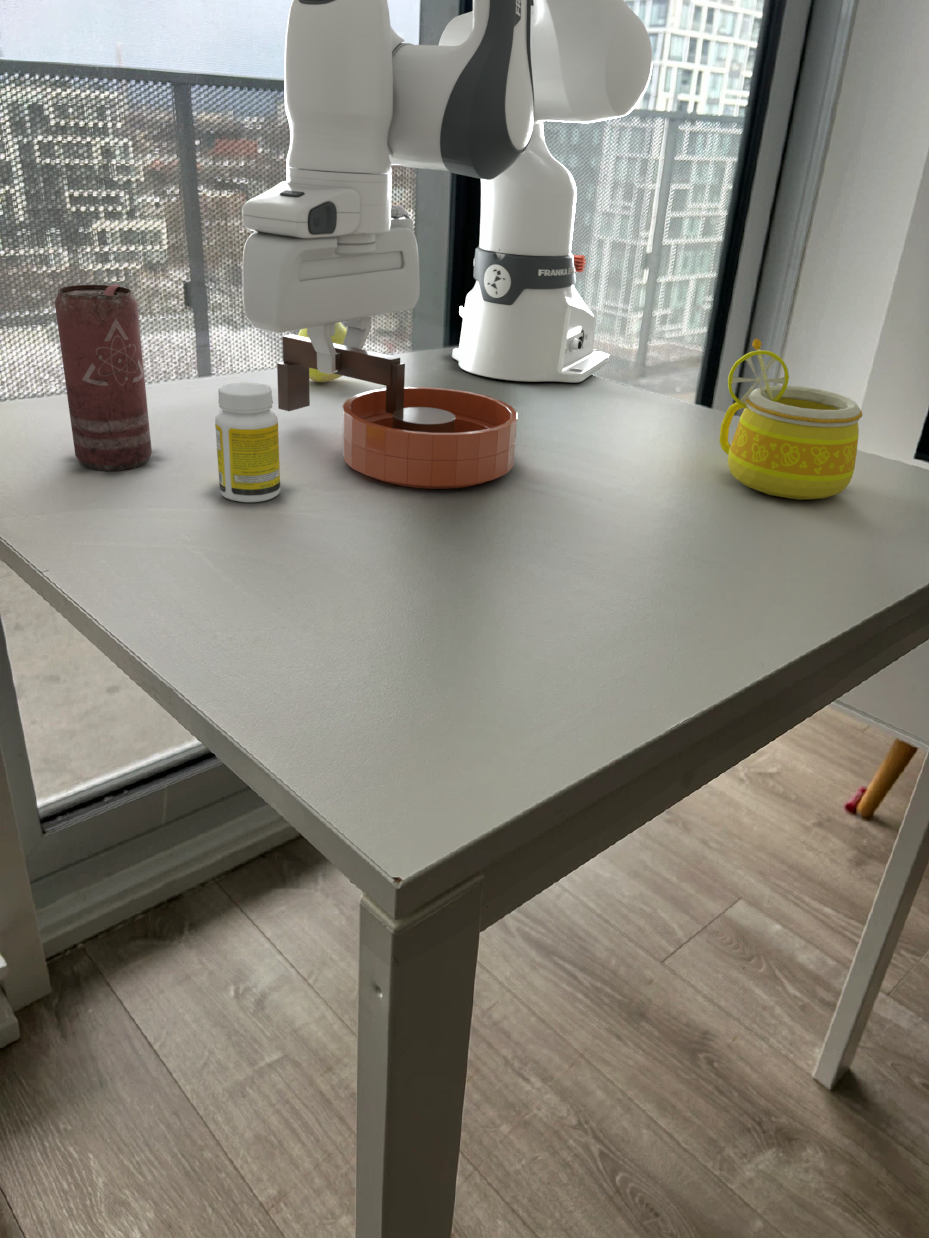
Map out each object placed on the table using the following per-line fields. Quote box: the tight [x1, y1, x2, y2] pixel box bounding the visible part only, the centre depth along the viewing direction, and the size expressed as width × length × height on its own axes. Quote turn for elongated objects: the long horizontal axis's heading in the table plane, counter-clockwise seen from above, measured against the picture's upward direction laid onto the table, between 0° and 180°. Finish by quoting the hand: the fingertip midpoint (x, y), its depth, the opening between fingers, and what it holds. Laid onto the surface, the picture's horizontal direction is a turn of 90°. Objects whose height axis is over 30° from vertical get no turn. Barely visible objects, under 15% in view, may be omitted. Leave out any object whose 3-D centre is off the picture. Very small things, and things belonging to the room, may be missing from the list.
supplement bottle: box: [214, 382, 281, 503], centre depth 73 cm, size 5×5×8 cm
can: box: [54, 284, 153, 472], centre depth 77 cm, size 6×6×14 cm
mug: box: [718, 338, 863, 501], centre depth 83 cm, size 13×11×12 cm
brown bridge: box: [276, 333, 455, 433], centre depth 86 cm, size 19×6×7 cm, turn 56°
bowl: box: [341, 386, 518, 490], centre depth 83 cm, size 15×15×5 cm
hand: (339, 369), depth 87 cm, fingers closed on brown bridge
